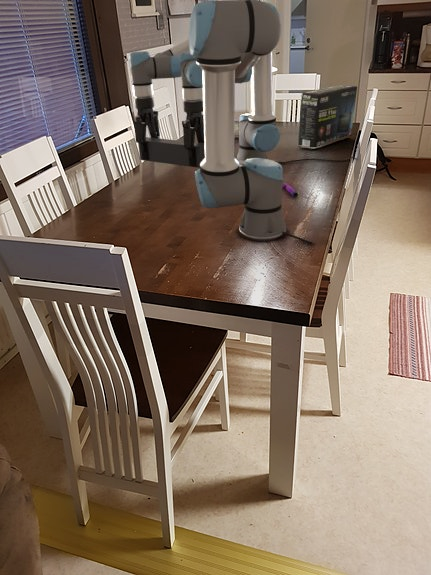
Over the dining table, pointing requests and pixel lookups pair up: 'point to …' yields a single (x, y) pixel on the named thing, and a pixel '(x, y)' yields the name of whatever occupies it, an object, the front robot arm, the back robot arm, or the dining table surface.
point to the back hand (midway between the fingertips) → (150, 157)
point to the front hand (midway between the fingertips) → (197, 163)
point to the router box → (326, 115)
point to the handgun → (289, 189)
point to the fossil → (236, 130)
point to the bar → (172, 151)
